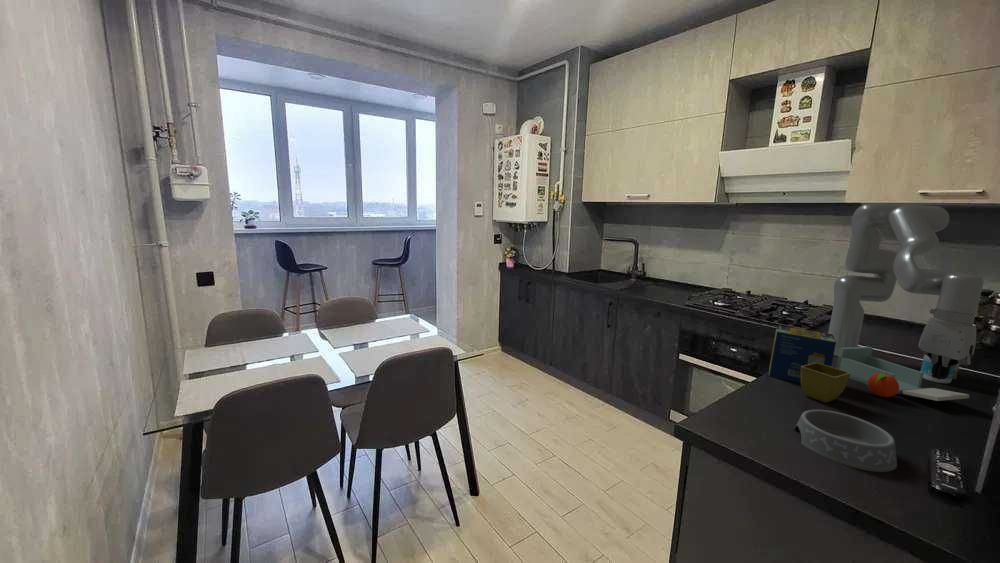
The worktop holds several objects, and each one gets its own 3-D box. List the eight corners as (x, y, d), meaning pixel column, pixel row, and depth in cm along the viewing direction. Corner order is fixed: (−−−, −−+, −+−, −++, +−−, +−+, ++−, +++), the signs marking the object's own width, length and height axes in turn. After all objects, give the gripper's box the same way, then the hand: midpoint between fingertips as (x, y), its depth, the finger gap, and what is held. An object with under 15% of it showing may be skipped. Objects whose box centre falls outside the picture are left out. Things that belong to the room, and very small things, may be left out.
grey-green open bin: (834, 372, 139) (839, 347, 137) (863, 370, 142) (868, 346, 140) (892, 394, 122) (898, 366, 121) (923, 392, 126) (930, 364, 124)
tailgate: (897, 389, 121) (936, 397, 112) (929, 387, 124) (969, 394, 115) (898, 392, 121) (936, 400, 112) (929, 390, 124) (969, 398, 115)
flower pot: (829, 407, 111) (835, 377, 109) (794, 394, 118) (800, 365, 117) (845, 402, 115) (851, 372, 113) (810, 390, 122) (815, 362, 121)
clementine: (887, 403, 116) (892, 380, 115) (858, 393, 122) (863, 371, 121) (901, 399, 119) (906, 376, 118) (872, 389, 125) (877, 368, 124)
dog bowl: (807, 458, 86) (812, 435, 85) (786, 420, 103) (790, 400, 102) (911, 482, 80) (917, 458, 79) (871, 438, 96) (876, 417, 95)
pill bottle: (943, 378, 139) (952, 341, 136) (956, 386, 132) (966, 347, 130) (914, 373, 142) (923, 337, 139) (925, 381, 135) (935, 342, 133)
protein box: (769, 367, 140) (776, 324, 138) (824, 379, 132) (833, 334, 129) (768, 376, 132) (775, 331, 129) (827, 389, 123) (837, 341, 121)
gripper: (912, 310, 120) (898, 368, 123) (981, 324, 106) (964, 389, 109) (930, 310, 122) (916, 367, 125) (1000, 324, 108) (982, 388, 111)
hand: (938, 377), depth 117 cm, fingers closed
